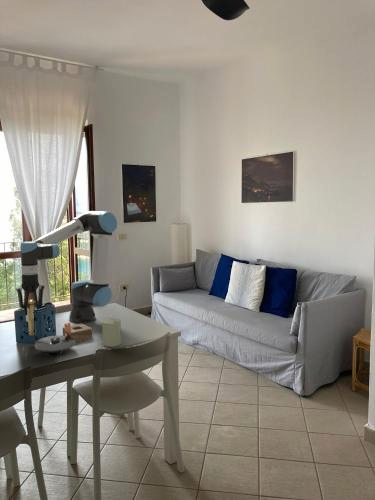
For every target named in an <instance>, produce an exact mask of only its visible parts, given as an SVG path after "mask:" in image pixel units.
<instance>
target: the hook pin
mask: <svg viewBox="0 0 375 500" xmlns="http://www.w3.org/2000/svg"><path fill="white" fill-rule="evenodd" d="M34 303H36V301H35V300H33V299H28V308H29V318H30V322H27V323H28V336H34V334H35V335H36V332H35V333H34V313H33V312H34V306H35V305H34Z"/></svg>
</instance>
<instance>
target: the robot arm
mask: <svg viewBox="0 0 375 500" xmlns="http://www.w3.org/2000/svg"><path fill="white" fill-rule="evenodd" d="M117 226H118V220H117V217H116V216H115V215H114V213H113V212H110V211H106V210H104V211H103V210H101V211H100V210H99V211H98V210H89V211H87V212H84V213H81V214H78V216H76V217H73V218H72V219H71V221H70V222H68V223H65V224H64V225H62V226H59V227H58V228H57V229H54V230H52V231H50V232H49V233H47V234H45V235H43V236H41V237H39V238H37V239H36V240H35V239H34V240H33V241H22V242H21V243H20V264H21V267H20V269H21V270H20V272H21V285H20V286H19V287H16V288H15V290H16V292H17V298H18V304H19V308H21V309H23V315H24V316H25V322H27V323H28V322H30V318H29V308H28V300H30V299H29V297H30V293H31V295H32V300H35V301H36V303H34V310H37V309H38V310H39V307H40V306H43V301H44V300H43V299H44V298H43V297H44V289H45V285H43V284H40V282H39V274H38V273H39V265H38V264H39V261H43V260H45V261H46V260H54V259H58V257H59V256H60V255H61V254H60V253H61V252H60V250H61V249H60V246H59V244H61V243H63V242H65V241H66V240H68V239H71V238H72V237H73V236H75V235H78V234H83V233H85V232H91V236H92V237H93V246H92V259H91V261H92V262H91V272H90V273H91V274H90V276H91V277H90V279H87V280H80V281H79V280H78V281H74V282H72V284H71V310H70V313H69V316H68V319H69V320H68V321H70V323H77V324H83V323H88V322H93V321H94V320H95V319H96V313H95V309H94V308H93V307H98V308H99V307H100V308H102V307H105V306H107V305H108V304H109V303H110V302H111V299H112V298H113V291H112V290H111V287H109V282H108V280H107V273H108V272H107V271H108V259H109V258H108V257H109V249H110V248H109V247H110V246H109V245H110V238H111V237H112V236H113V232H115V231H116V229H117ZM37 290H38V293H37ZM22 291H23V292H24V293H23V292H22ZM22 293H23V294H24V297H23V294H22Z"/></svg>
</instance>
